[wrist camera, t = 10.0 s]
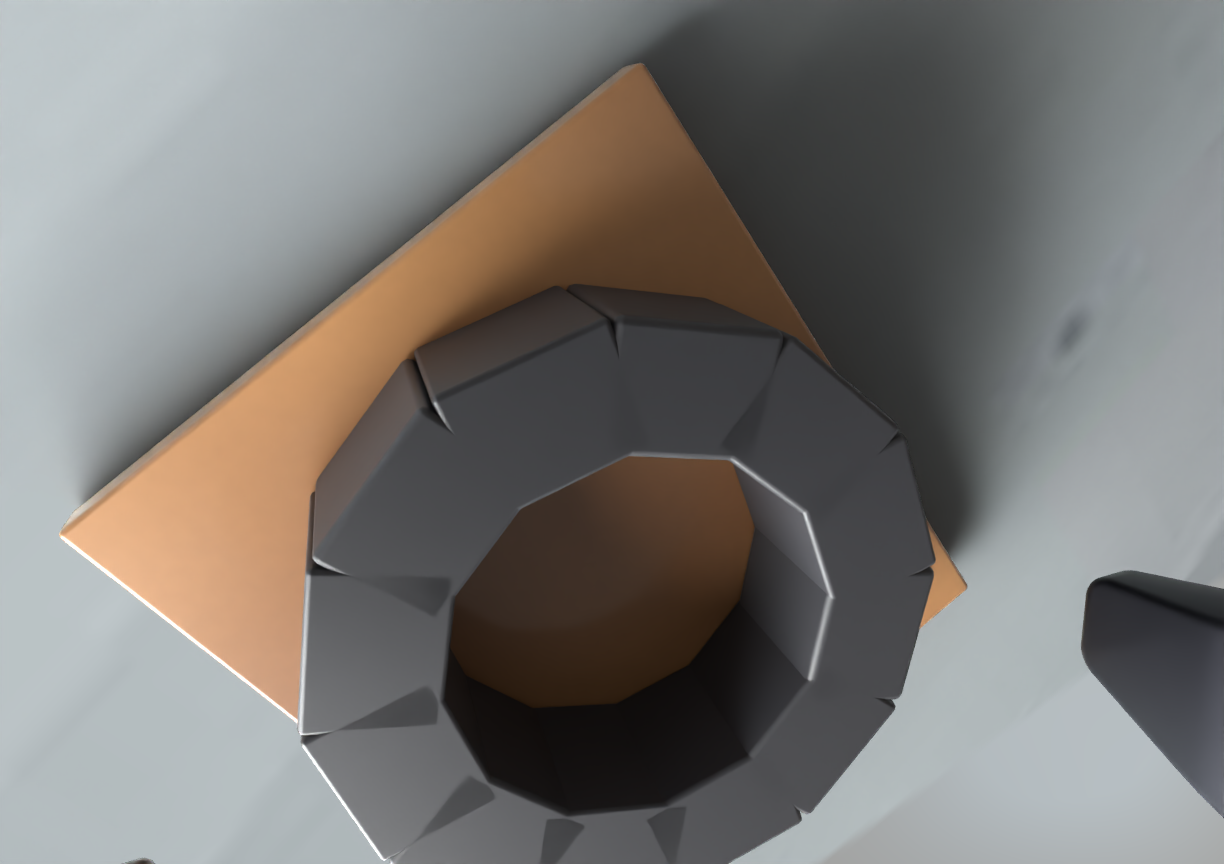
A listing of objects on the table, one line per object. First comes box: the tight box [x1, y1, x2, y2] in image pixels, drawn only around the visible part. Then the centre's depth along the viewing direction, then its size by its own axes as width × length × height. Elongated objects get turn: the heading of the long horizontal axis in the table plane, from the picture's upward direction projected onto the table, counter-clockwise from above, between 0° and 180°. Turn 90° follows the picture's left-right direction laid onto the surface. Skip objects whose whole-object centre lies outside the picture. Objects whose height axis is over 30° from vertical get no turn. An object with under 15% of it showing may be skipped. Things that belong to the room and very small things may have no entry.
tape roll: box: [297, 284, 936, 864], centre depth 10 cm, size 7×7×2 cm
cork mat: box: [59, 63, 967, 722], centre depth 11 cm, size 9×8×1 cm
